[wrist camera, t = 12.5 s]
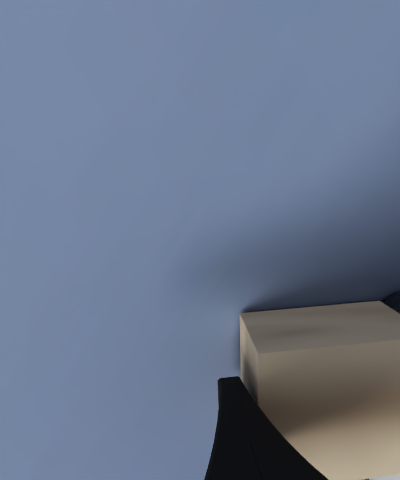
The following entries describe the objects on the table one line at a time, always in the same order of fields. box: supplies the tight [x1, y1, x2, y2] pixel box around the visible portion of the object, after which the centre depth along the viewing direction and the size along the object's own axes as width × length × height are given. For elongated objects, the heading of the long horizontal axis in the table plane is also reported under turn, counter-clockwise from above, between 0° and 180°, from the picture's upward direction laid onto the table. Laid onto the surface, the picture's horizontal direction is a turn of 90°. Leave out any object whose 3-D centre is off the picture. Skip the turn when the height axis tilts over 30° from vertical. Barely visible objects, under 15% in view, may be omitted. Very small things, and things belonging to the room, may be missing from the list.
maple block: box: [240, 301, 400, 480], centre depth 13 cm, size 7×7×3 cm
